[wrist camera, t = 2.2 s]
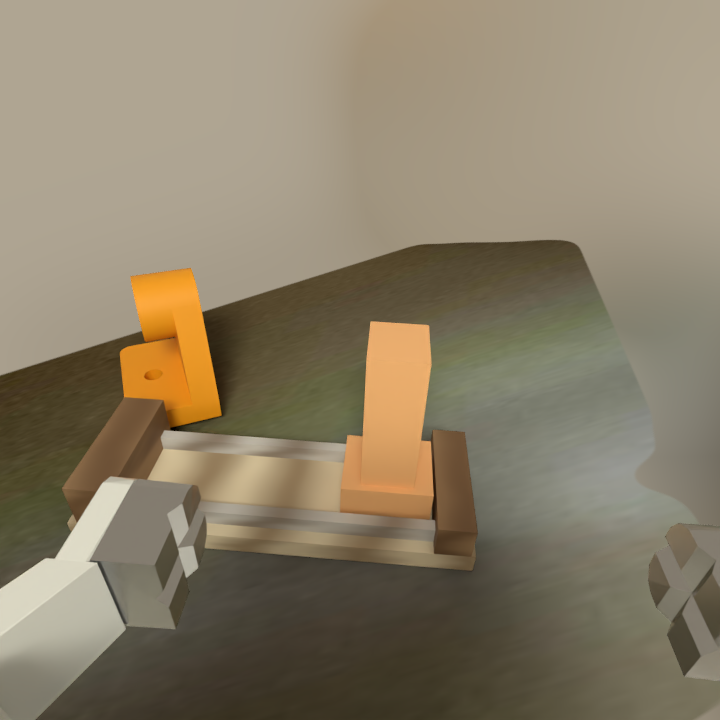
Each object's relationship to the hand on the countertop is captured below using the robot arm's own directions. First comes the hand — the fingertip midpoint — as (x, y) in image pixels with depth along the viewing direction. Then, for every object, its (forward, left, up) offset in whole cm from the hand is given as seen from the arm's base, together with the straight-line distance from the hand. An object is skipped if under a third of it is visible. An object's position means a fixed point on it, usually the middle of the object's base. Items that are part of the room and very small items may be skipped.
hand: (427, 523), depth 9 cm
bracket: (-20, +30, -24) cm, 43 cm away
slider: (0, +19, -22) cm, 29 cm away
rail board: (-8, +19, -24) cm, 31 cm away
